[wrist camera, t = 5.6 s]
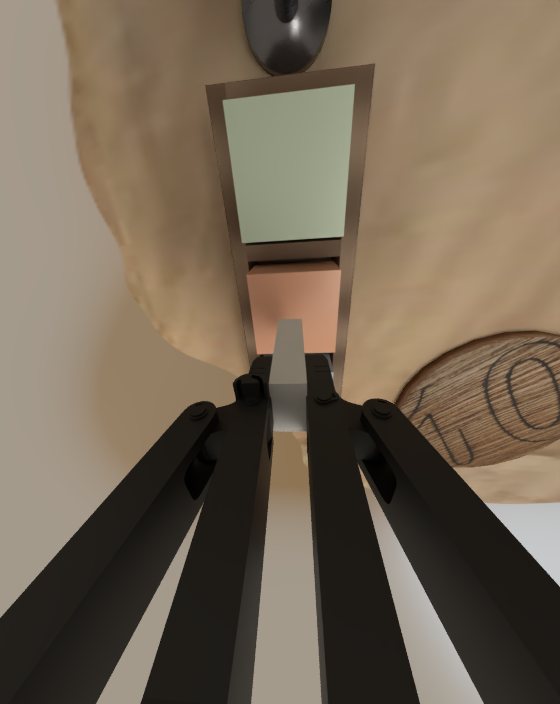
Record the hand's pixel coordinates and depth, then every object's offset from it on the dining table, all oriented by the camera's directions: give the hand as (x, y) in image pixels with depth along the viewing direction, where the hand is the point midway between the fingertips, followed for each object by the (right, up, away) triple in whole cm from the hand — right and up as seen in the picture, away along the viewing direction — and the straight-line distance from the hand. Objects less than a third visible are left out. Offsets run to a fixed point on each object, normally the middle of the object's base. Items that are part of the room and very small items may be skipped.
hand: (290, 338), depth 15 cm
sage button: (0, +12, +2) cm, 12 cm away
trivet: (+29, -9, +19) cm, 36 cm away
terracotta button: (+1, +4, +6) cm, 8 cm away
